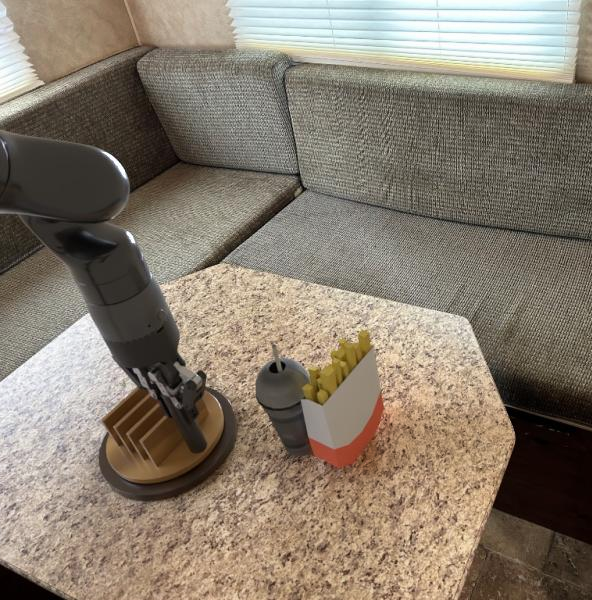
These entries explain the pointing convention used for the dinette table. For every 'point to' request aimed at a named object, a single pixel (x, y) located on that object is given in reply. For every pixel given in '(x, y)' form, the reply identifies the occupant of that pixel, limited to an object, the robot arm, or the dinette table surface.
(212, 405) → the plate rack
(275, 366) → the beverage cup
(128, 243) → the robot arm
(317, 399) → the french fries container
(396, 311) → the dinette table surface
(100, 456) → the base
